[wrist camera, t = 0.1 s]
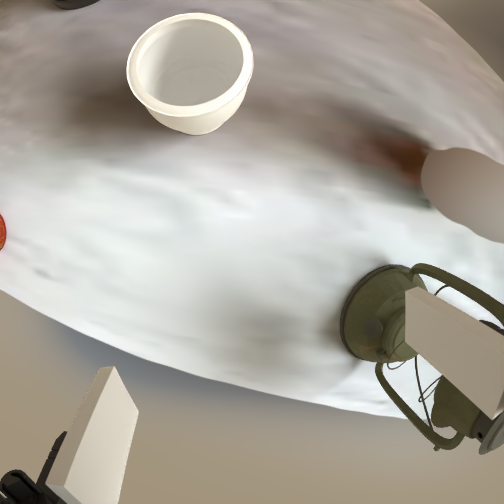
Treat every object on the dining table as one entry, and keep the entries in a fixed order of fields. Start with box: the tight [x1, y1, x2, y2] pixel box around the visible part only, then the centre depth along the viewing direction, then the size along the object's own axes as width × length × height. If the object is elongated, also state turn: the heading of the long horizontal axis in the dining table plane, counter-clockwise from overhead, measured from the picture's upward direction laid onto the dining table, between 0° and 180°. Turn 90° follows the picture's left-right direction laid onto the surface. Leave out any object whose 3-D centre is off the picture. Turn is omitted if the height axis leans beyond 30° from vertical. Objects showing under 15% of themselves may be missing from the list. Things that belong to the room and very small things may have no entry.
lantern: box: [340, 263, 504, 455], centre depth 30 cm, size 21×18×30 cm
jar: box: [127, 13, 253, 135], centre depth 27 cm, size 11×10×15 cm
